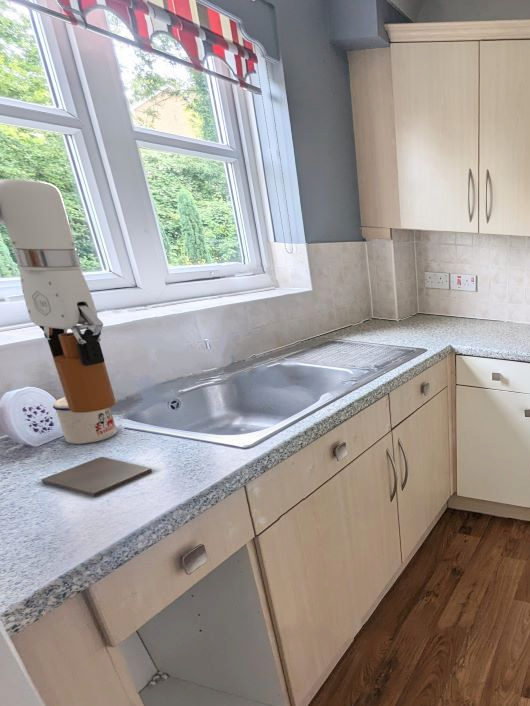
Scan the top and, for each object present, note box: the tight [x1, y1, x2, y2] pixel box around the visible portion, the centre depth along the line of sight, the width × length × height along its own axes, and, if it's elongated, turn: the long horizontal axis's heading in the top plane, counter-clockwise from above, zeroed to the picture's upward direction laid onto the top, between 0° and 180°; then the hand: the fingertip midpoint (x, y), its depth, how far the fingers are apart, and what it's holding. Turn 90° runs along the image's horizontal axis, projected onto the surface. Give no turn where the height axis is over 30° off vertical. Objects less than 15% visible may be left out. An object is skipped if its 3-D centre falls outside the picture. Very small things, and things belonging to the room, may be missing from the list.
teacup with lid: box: [52, 396, 118, 445], centre depth 104 cm, size 12×9×12 cm
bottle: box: [52, 331, 116, 413], centre depth 84 cm, size 6×6×14 cm
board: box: [41, 456, 153, 498], centre depth 88 cm, size 14×10×1 cm
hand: (79, 360), depth 83 cm, fingers closed on bottle, 6 cm apart
